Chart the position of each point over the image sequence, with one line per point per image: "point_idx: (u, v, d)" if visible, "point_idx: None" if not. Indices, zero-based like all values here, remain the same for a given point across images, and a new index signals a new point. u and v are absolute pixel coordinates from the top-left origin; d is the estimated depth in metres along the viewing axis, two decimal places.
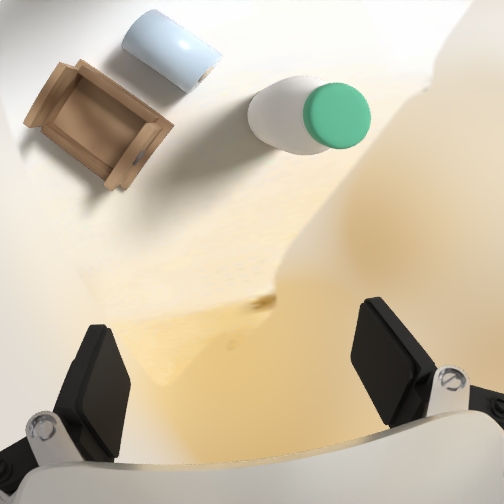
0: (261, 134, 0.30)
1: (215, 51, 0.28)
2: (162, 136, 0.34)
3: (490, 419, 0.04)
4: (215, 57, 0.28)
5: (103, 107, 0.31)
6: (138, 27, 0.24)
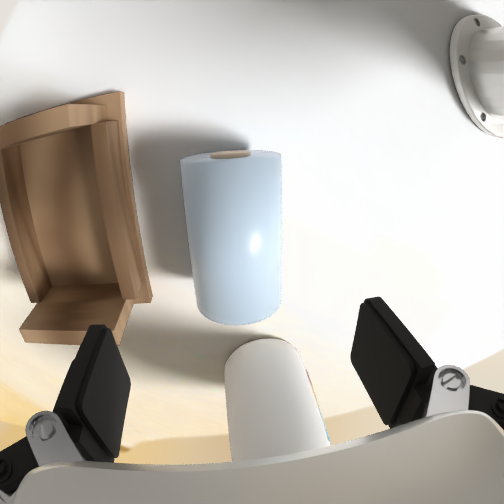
0: (229, 425, 0.21)
1: (278, 298, 0.21)
2: None
3: (490, 419, 0.04)
4: (270, 313, 0.20)
5: (88, 199, 0.20)
6: (228, 179, 0.16)
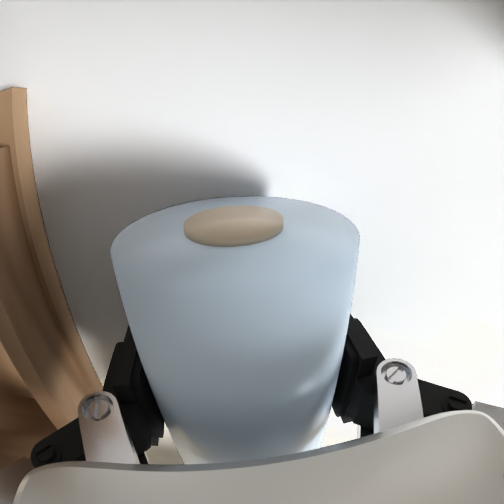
0: None
1: None
2: None
3: (490, 419, 0.04)
4: None
5: None
6: (232, 332, 0.05)
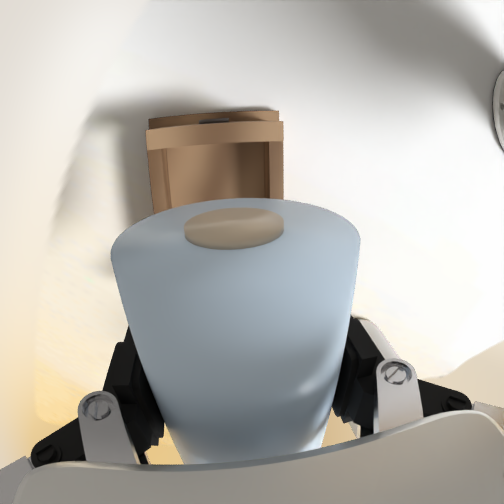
0: None
1: None
2: None
3: (490, 419, 0.04)
4: None
5: None
6: (233, 336, 0.05)
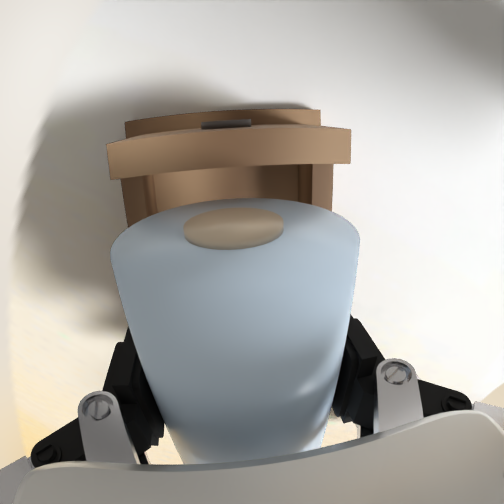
0: None
1: None
2: None
3: (490, 419, 0.04)
4: None
5: None
6: (232, 336, 0.05)
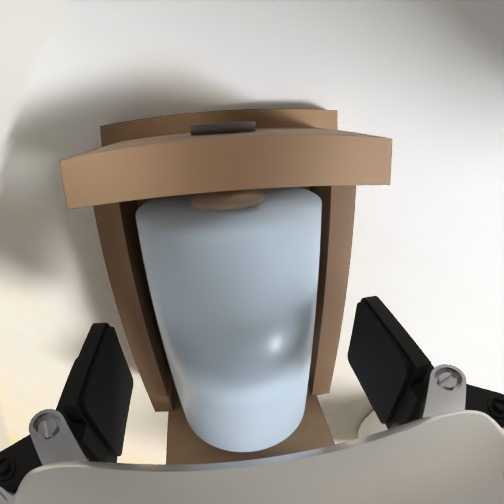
0: None
1: (303, 409, 0.13)
2: None
3: (490, 419, 0.04)
4: (290, 432, 0.12)
5: None
6: (223, 264, 0.08)
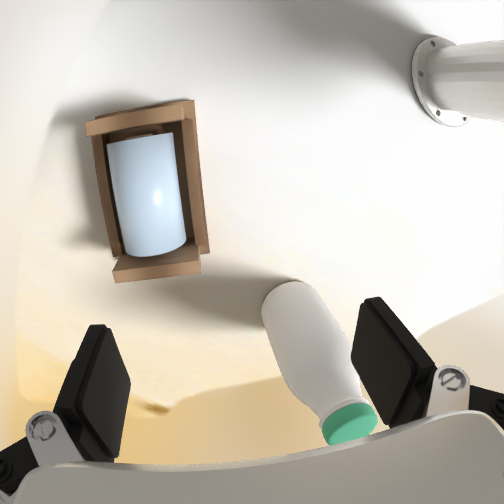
0: (274, 342, 0.31)
1: (179, 238, 0.27)
2: None
3: (490, 419, 0.04)
4: (171, 249, 0.27)
5: None
6: (128, 150, 0.22)
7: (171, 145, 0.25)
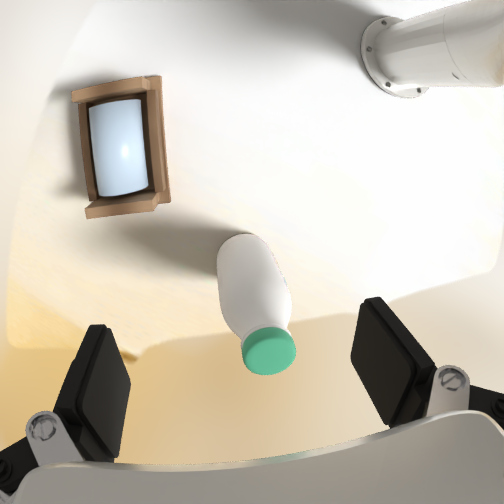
0: (218, 280, 0.35)
1: (140, 182, 0.32)
2: None
3: (490, 419, 0.04)
4: (133, 190, 0.31)
5: None
6: (104, 111, 0.27)
7: (138, 109, 0.29)
